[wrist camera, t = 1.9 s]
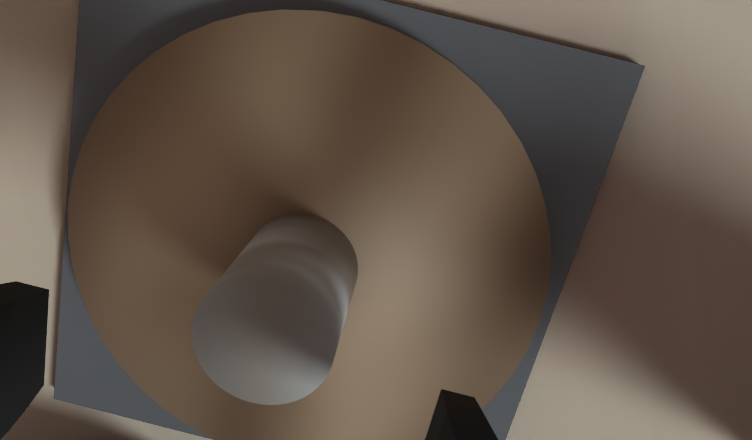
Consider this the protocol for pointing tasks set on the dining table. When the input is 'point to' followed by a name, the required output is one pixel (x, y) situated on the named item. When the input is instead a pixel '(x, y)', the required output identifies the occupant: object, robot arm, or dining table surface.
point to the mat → (441, 33)
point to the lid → (307, 230)
